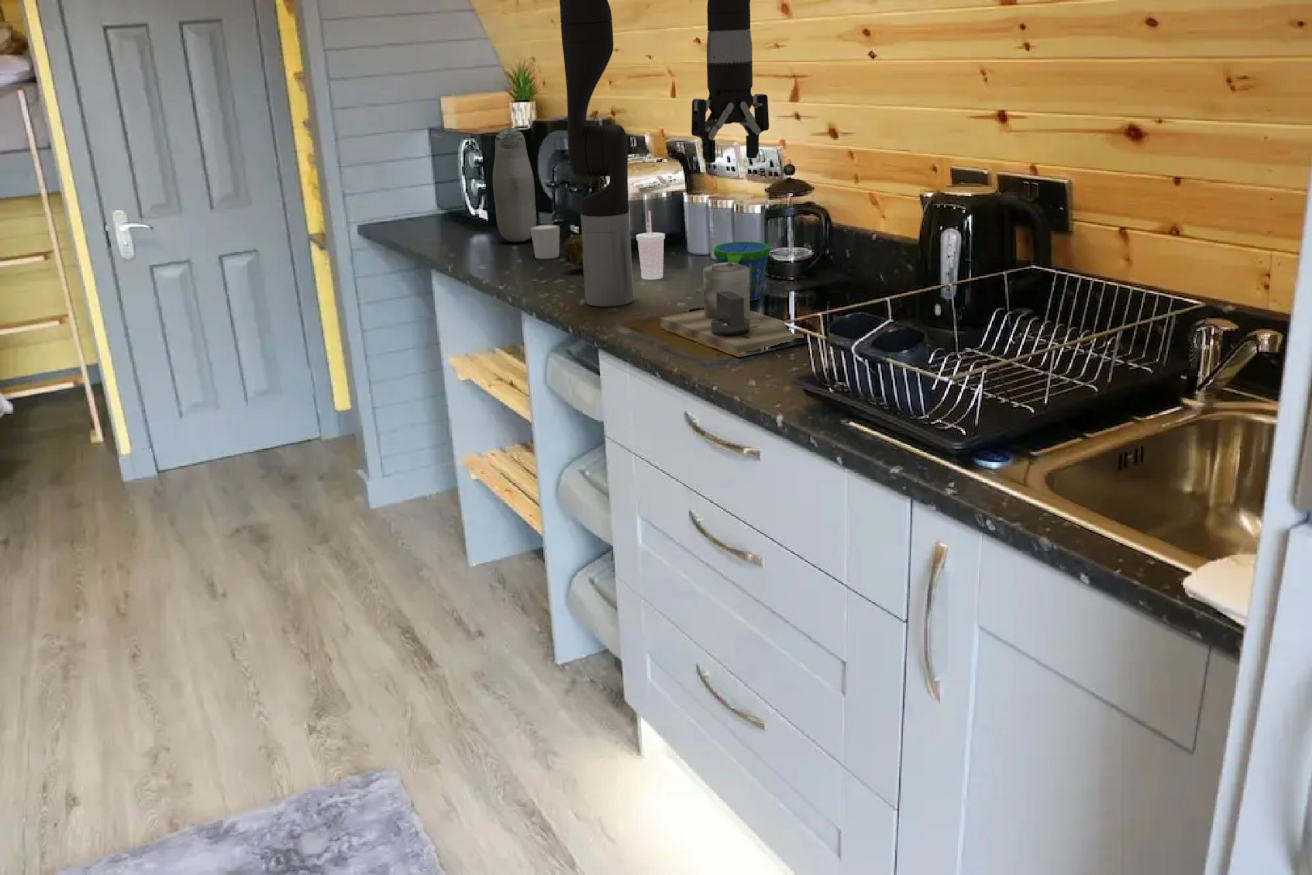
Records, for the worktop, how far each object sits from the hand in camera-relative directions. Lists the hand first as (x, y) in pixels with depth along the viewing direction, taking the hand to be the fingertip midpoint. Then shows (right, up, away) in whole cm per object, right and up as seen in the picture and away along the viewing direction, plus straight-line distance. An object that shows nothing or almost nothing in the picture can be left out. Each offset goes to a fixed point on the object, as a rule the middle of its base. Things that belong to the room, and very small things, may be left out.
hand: (731, 160), depth 189 cm
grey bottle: (-48, +3, +94) cm, 106 cm away
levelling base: (+1, -30, +1) cm, 30 cm away
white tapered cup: (-39, -4, +74) cm, 84 cm away
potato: (-27, -10, +58) cm, 65 cm away
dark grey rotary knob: (0, -29, -5) cm, 30 cm away
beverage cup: (-14, -13, +48) cm, 51 cm away
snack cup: (+4, -21, +26) cm, 33 cm away
